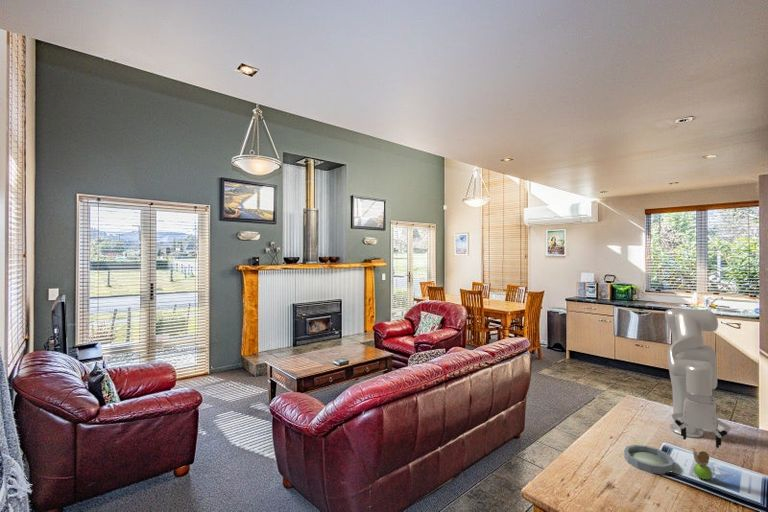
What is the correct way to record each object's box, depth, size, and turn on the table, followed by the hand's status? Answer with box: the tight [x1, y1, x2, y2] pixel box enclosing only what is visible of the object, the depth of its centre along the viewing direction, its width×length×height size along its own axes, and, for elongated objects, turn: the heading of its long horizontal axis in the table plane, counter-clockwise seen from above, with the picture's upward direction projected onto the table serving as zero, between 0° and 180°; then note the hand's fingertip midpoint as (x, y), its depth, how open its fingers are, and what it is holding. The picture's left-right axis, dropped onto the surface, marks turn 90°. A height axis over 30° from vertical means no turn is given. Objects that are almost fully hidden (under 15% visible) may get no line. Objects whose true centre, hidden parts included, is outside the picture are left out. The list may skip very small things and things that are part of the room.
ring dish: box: [623, 444, 675, 475], centre depth 156 cm, size 16×16×3 cm
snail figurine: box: [691, 447, 713, 480], centre depth 144 cm, size 5×6×12 cm
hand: (700, 442), depth 143 cm, fingers open, 9 cm apart
